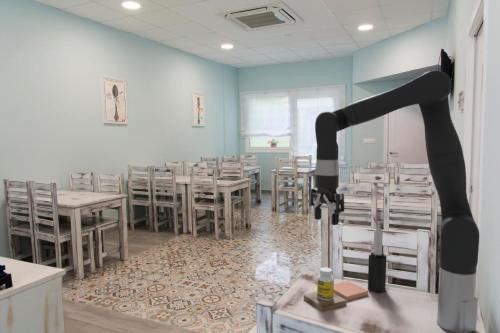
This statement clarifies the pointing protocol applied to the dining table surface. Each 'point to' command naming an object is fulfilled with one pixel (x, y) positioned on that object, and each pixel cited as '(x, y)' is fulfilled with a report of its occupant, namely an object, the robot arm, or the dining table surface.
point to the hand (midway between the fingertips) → (326, 221)
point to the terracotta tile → (349, 290)
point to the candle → (377, 264)
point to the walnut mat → (323, 304)
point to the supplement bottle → (325, 284)
